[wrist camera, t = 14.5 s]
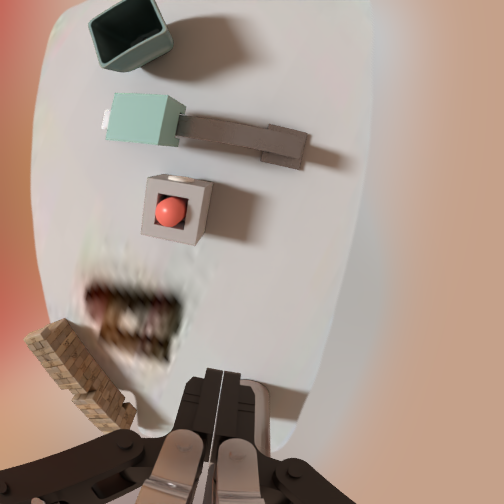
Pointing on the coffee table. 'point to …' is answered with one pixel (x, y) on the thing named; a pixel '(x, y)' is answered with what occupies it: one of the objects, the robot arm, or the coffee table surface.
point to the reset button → (171, 211)
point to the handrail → (244, 137)
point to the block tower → (80, 376)
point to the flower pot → (129, 35)
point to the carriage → (144, 119)
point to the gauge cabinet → (196, 210)
